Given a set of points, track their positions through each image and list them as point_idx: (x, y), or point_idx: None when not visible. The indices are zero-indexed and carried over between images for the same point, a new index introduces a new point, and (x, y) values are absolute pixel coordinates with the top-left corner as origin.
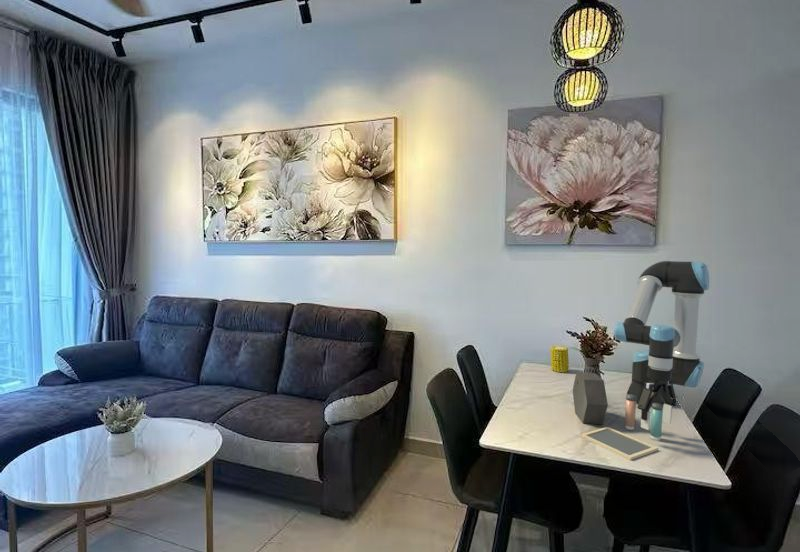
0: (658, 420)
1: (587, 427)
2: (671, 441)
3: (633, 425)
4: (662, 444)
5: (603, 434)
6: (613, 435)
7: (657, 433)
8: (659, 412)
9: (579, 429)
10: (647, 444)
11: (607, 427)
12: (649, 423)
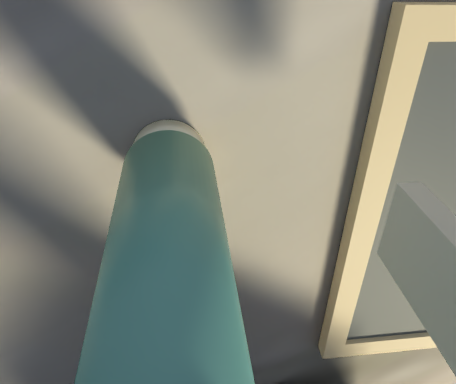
0: (211, 250)
1: (388, 377)
2: (64, 60)
3: None
4: (218, 61)
5: None
6: None
7: (201, 156)
8: (222, 364)
9: (446, 372)
10: (403, 97)
11: (333, 352)
12: (444, 230)
